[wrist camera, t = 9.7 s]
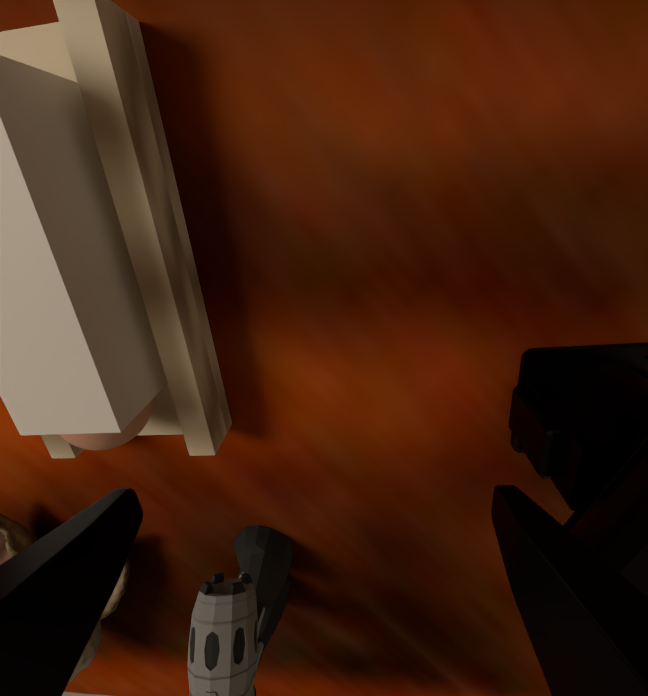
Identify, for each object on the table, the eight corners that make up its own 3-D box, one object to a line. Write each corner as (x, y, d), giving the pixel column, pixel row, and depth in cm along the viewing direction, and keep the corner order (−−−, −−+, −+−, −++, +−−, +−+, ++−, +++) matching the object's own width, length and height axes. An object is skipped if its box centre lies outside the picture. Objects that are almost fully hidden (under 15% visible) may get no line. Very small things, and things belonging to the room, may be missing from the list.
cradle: (-72, 56, 16) (-158, 30, 14) (138, 21, 15) (91, -14, 13) (86, 427, 24) (52, 458, 22) (232, 423, 23) (215, 455, 21)
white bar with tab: (-31, 73, 16) (-265, 7, 10) (77, 56, 15) (-103, -25, 9) (104, 415, 23) (14, 497, 17) (182, 412, 22) (117, 497, 16)
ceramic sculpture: (-86, 733, 26) (-118, 592, 20) (18, 607, 34) (15, 482, 28) (66, 769, 26) (75, 640, 21) (133, 636, 34) (152, 518, 29)
